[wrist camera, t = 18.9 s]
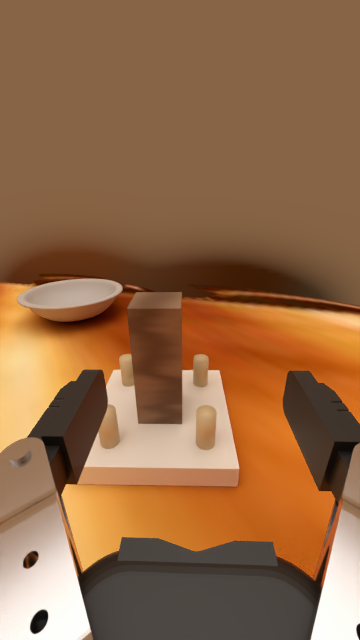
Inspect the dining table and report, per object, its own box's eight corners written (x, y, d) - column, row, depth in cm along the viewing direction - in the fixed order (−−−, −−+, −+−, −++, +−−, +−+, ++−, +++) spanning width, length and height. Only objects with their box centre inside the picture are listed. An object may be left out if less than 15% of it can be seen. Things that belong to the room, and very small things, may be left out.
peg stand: (218, 383, 40) (220, 347, 37) (237, 486, 25) (243, 437, 23) (115, 383, 40) (110, 346, 38) (74, 484, 25) (62, 435, 23)
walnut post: (182, 394, 34) (181, 292, 28) (182, 424, 29) (181, 308, 24) (144, 394, 34) (136, 292, 28) (138, 423, 29) (126, 308, 24)
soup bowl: (143, 310, 69) (142, 287, 66) (60, 347, 51) (53, 316, 48) (87, 295, 82) (84, 274, 79) (5, 320, 64) (-2, 294, 61)
